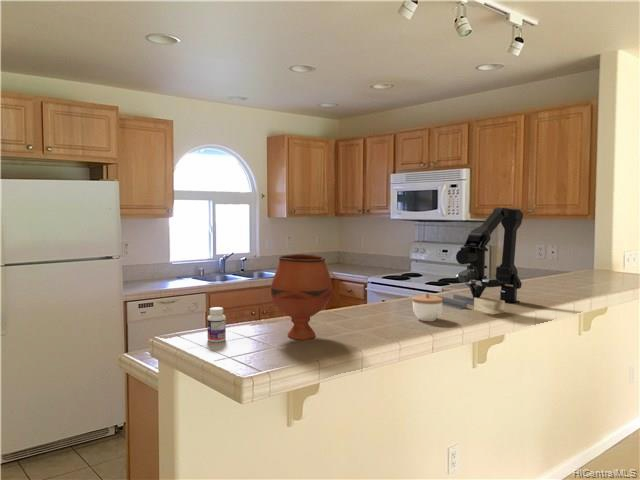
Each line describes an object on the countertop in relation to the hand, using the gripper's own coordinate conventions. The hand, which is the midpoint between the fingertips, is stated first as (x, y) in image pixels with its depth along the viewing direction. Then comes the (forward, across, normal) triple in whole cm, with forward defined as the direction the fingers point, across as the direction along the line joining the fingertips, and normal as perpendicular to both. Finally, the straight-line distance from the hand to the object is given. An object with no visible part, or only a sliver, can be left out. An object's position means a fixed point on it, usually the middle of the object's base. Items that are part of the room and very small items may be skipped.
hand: (475, 301), depth 205 cm
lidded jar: (+3, +7, -31) cm, 32 cm away
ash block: (+3, +6, +1) cm, 7 cm away
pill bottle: (+3, +2, -107) cm, 107 cm away
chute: (+3, -9, 0) cm, 9 cm away
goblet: (+3, +8, -82) cm, 82 cm away
